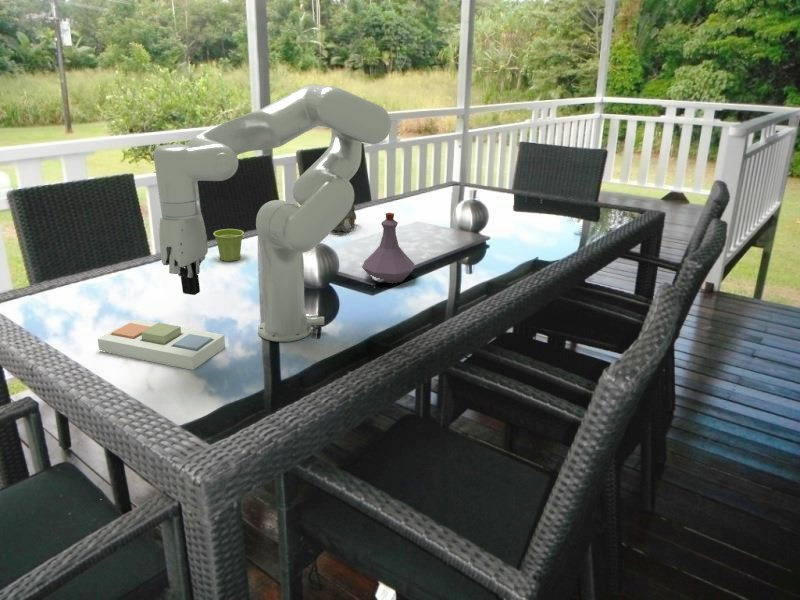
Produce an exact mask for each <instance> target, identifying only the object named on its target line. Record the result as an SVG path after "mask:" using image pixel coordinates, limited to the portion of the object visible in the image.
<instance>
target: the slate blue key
mask: <svg viewBox="0 0 800 600" xmlns="http://www.w3.org/2000/svg"><path fill="white" fill-rule="evenodd" d="M211 341H212V338H210V337H204V336H199V335H193V334H188V335H187V336H185V337H184V338H182V339H180V340H179V341H177V342H176V343H174V344H173V347H177V348H182V349H188V350H193V351H198V350H200V349H201V348H202V347H204V346H205V345H207V344H208V343H210V342H211Z"/></svg>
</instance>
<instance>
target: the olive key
mask: <svg viewBox="0 0 800 600" xmlns="http://www.w3.org/2000/svg"><path fill="white" fill-rule="evenodd" d="M156 323H157V324H155V325H153V326H152V327H150V328H148V329H146V330H144V331H143V332H141V335H142V341H146V342H151V343H156V344H161V345H166V344H168V343H169V342H171V341H172V340H174V339H176V338H177V337H179V336H181V327H182V326H179V325H175V324H169V323H163V322H156Z"/></svg>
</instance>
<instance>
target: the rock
mask: <svg viewBox="0 0 800 600" xmlns="http://www.w3.org/2000/svg"><path fill="white" fill-rule="evenodd" d="M355 209H356V207H355V204H354V203H353V205H352V207H351V210H350V211H349V213H348V214H347V216H346V217H345V218H344V219H343V220H342V221H341V222H340V223H339V224H338V225H337V226H336V227H335V228H334V229H333V231H336V232H338V231H339V232H341V231H343V232H344V233H347V232H349V231H350V230H351V229H352V228H353V227H354V226H355V224H356V222H355V221H357V214H356V212H355Z"/></svg>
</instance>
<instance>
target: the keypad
mask: <svg viewBox="0 0 800 600" xmlns="http://www.w3.org/2000/svg"><path fill="white" fill-rule="evenodd" d="M129 323H133V324H139V325H144V326H149V327H152V326H153V325H155V324H157V323H158V322H156V321H150V320H149V321H148V320H143V319H139V318H138V319H137V318H134V319H133V320H131V321H129V322H126V323H125V324H123V325H121V326H119V327H118V328H116V329H113V330H111V331H109V332H108V333H105V334H104V335H102V336H101V337H99V338H97V343H98V349H99V350H102V351H105V352H104V353H106V352H110V353H109V354H111V353H114V354H113V355H116V354H118V355H117V356H121V355H123V356H122V357H126V356H127V358H131V357H132V359H137V360H143V361H147V362H150V363H151V362H153V363H157V364H162V365H167V366H171V367H172V366H173V367H175V368H176V367H177V368H182V369H187V370H191V371H194V370H195V369H197V368H198V367H199V366H201V365H202V364H204V363H205V362H206V361H208V360H209V359H211V358H212V357H213V356H215V355H216V354H218V353H219V352H221V351H222V350H223V349H225V348H226V340H225V339H226V338H225V334H222V333H216V332H211V331H210V332H209V331H204V330H198V329H194V328H189V327H182V326H180V327H181V336H179V337H177V338H176V339H174V340H172V341H171V342H169V343H168V344H166V345H161V344H156V343H151V342H146V341H142V335H141V336H139V337H137V338H135V339H130V338H125V337H120V336H114V335H112V332H114V331H115V330H117V329H119V328H121V327H123V326H125V325H127V324H129ZM188 334H193V335H199V336H204V337H210V338H212V341H211V342H210V343H208V344H207V345H205V346H204V347H202V348H201V349H200V350H198V351H193V350H188V349H182V348H177V347H173V344H174V343H176V342H177V341H179V340H180V339H182V338H184V337H185V336H187V335H188ZM99 350H98V351H99Z"/></svg>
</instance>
